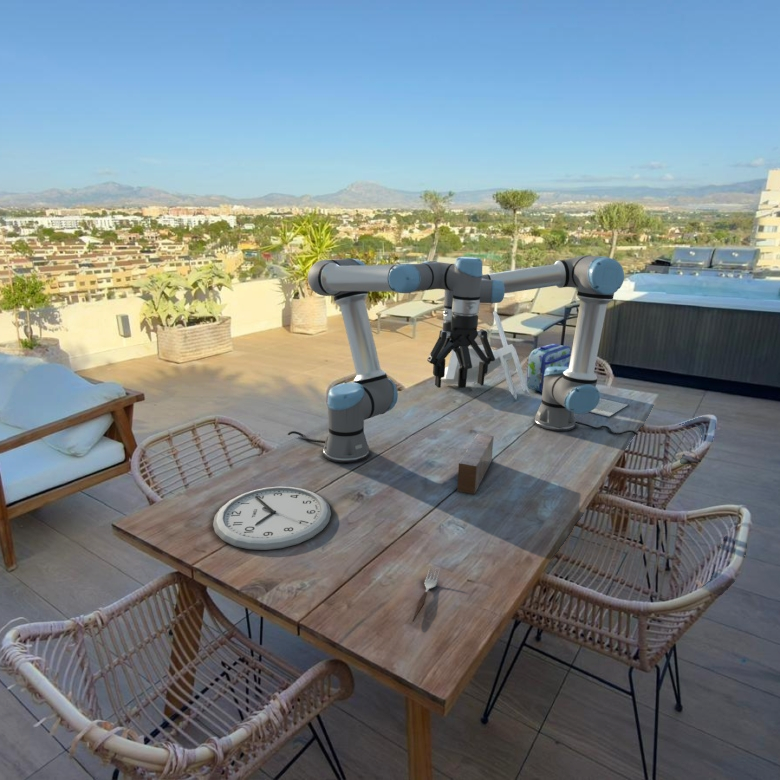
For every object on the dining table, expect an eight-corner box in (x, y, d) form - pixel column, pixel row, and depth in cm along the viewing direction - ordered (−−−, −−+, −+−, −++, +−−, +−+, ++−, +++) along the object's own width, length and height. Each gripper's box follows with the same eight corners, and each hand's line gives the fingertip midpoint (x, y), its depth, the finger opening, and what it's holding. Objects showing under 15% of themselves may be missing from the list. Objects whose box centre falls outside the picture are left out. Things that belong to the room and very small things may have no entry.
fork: (406, 621, 101) (406, 613, 100) (428, 573, 115) (429, 565, 115) (419, 625, 100) (419, 616, 99) (440, 576, 114) (440, 568, 114)
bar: (476, 458, 174) (477, 433, 171) (491, 461, 172) (493, 435, 169) (457, 491, 152) (458, 463, 149) (474, 494, 150) (476, 466, 147)
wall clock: (329, 541, 123) (198, 546, 121) (329, 547, 124) (199, 552, 121) (332, 482, 152) (226, 484, 149) (332, 487, 152) (226, 489, 150)
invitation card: (608, 416, 214) (573, 407, 224) (608, 416, 214) (573, 408, 224) (628, 404, 229) (594, 396, 238) (628, 405, 229) (594, 397, 238)
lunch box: (542, 396, 239) (547, 351, 232) (522, 391, 246) (526, 347, 240) (570, 385, 256) (575, 343, 250) (550, 380, 263) (554, 339, 257)
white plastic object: (461, 429, 252) (437, 405, 227) (444, 352, 274) (420, 323, 250) (535, 404, 240) (518, 377, 215) (510, 326, 262) (492, 293, 237)
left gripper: (427, 316, 141) (423, 391, 148) (511, 315, 148) (503, 386, 154) (419, 311, 148) (415, 383, 155) (499, 310, 155) (492, 379, 161)
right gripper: (426, 315, 182) (423, 374, 189) (465, 328, 161) (461, 393, 167) (444, 314, 185) (441, 372, 192) (486, 326, 164) (481, 391, 170)
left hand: (459, 385), depth 155 cm, fingers open, 13 cm apart
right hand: (450, 382), depth 179 cm, fingers open, 13 cm apart
